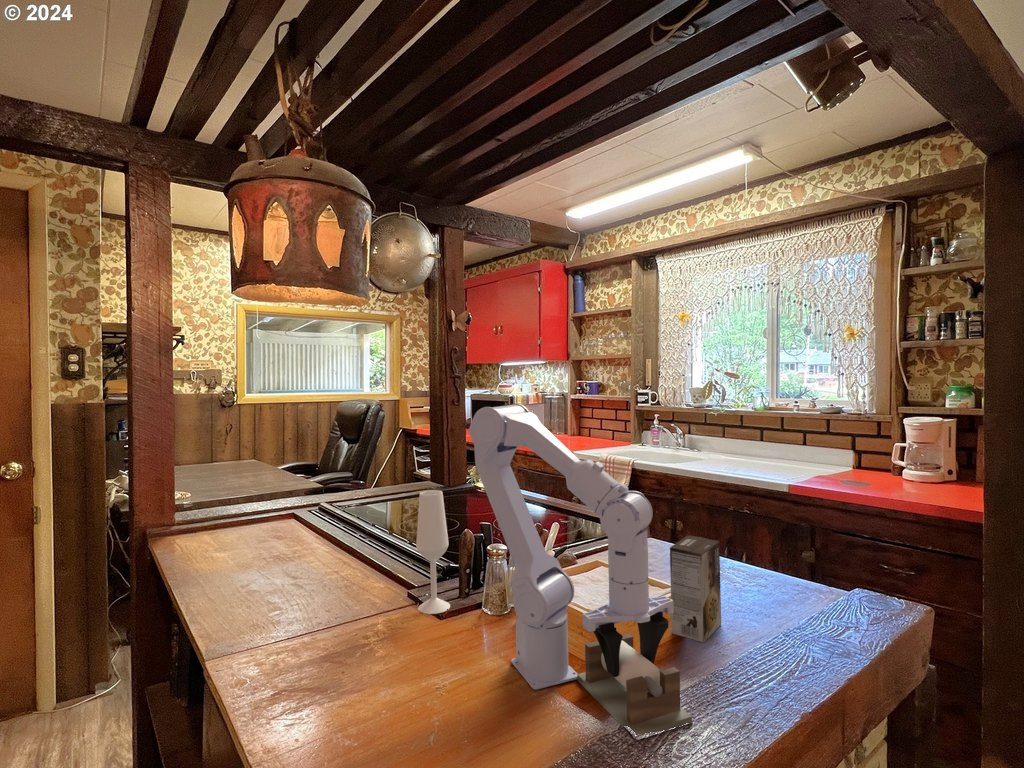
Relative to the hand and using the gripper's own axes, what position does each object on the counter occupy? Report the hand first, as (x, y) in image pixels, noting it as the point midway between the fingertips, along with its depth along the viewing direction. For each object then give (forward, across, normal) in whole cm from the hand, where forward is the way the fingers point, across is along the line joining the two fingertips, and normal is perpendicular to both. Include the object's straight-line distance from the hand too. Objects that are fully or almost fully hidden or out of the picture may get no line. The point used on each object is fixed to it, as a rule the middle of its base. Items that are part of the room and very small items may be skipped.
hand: (630, 668), depth 83 cm
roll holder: (+5, 0, 0) cm, 5 cm away
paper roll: (0, 0, 0) cm, 0 cm away
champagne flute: (+5, -18, +45) cm, 49 cm away
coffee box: (+5, +24, +14) cm, 28 cm away
